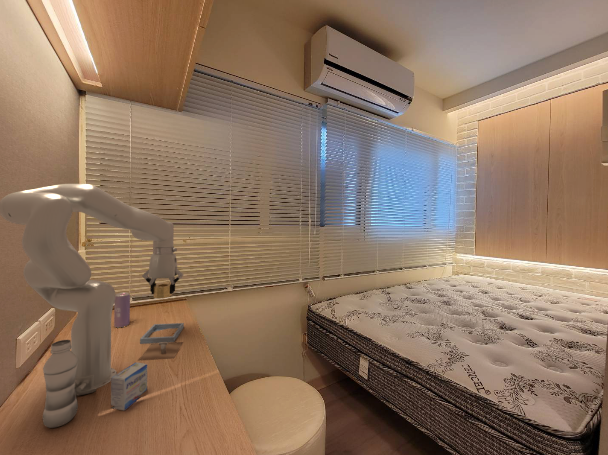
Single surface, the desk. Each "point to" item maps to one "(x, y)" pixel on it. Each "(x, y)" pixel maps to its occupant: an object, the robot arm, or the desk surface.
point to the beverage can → (122, 310)
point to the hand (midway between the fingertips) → (162, 292)
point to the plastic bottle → (60, 385)
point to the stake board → (157, 350)
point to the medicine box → (128, 386)
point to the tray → (158, 327)
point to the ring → (162, 290)
